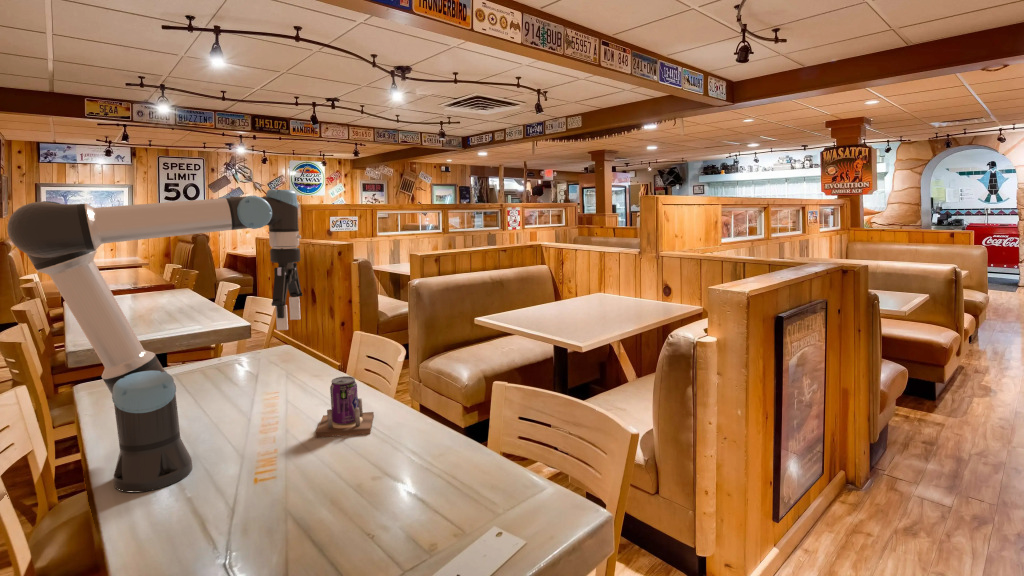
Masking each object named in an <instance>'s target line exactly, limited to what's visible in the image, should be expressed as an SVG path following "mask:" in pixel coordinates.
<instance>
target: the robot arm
mask: <svg viewBox="0 0 1024 576" xmlns="http://www.w3.org/2000/svg"><path fill="white" fill-rule="evenodd" d="M297 197H298V196H297V193H296V191H294V190H293V189H268V190H266V195H265V196H257V195H247V196H232V195H230V196H229V195H228V196H220V197H218V198H211V199H196V200H184V201H183V200H181V201H170V202H169V201H167V202H156V203H143V204H128V205H115V206H113V205H112V206H102V207H101V206H99V207H93V206H92V205H90V204H88V203H72V204H71V203H70V204H68V203H66V204H65V203H60V202H56V201H50V200H46V201H45V200H44V201H34V202H31V203H27V204H24V205H22V206H20V207H19V208H17V209H16V210H15V211H13V212H12V214H11V215H10V217H9V220H7V221H8V223H7V234H8V237H9V239H10V241H11V242H12V244H13V245H14V246H15V247H16V248H17V249H18V250H19V251H21V252H23V253H24V254H26V255H27V257H28V259H29V260H30V261H31V264H32V265H33V267H34V268H35V270H36V272H38V273H42V274H46V275H48V276H49V277H50V279H51V281H52V282H53V283H54V285H55V287H56V288H57V290H58V292H59V294H60V295H61V297H62V298H63V300H64V302H65V303H66V305H67V307H68V309H69V310H70V312H71V313H72V316H73V317H74V318H75V320H76V322H77V323H78V325H79V327H80V329H81V330H82V332H83V333H84V335H85V336H86V338H87V340H88V342H89V343H90V345H91V347H92V348H93V350H94V351H95V353H96V355H97V356H98V358H99V360H100V362H101V363H102V365H103V367H104V369H103V372H102V374H101V378H102V380H103V382H104V383H105V386H106V387H107V388H108V390H109V393H111V398H112V399H111V401H112V403H113V405H114V413H115V422H116V429H117V436H118V445H119V454H118V458H117V461H116V465H115V469H114V474H113V483H114V488H115V487H116V488H118V489H120V490H123V491H144V492H148V491H147V490H150V491H153V490H152V489H155V490H158V489H157V488H159V489H162V488H165V487H168V486H171V485H173V484H175V483H177V482H180V481H181V480H183V479H184V478H186V477H187V476H188V475H189V474H190V473H191V472H192V470H193V460H192V457H191V455H190V453H189V451H188V449H187V447H186V445H185V444H184V442H183V440H182V437H181V431H180V430H181V429H180V421H179V411H178V401H177V395H176V392H177V385H176V383H175V380H174V378H173V376H172V375H171V374H169V373H168V372H167V371H166V370H165V369H164V367H163V365H162V364H161V362H160V361H159V359H158V357H157V355H156V353H155V352H153V351H149V350H146V349H144V347H143V344H142V343H141V342H140V340H139V338H138V336H137V335H136V333H135V331H134V329H133V327H132V325H131V324H130V322H129V320H128V319H127V317H126V316H125V313H124V312H123V310H122V308H121V306H120V305H119V303H118V301H117V299H116V297H115V296H114V294H113V292H112V290H111V289H110V287H109V285H108V284H107V281H106V280H105V278H104V275H102V273H101V272H100V271H101V270H99V267H98V266H97V264H96V263H95V261H94V259H95V257H96V255H97V254H96V253H97V250H98V249H99V247H101V245H104V244H113V243H120V242H121V243H122V242H123V243H124V242H129V241H130V242H131V241H139V240H148V239H149V240H150V239H159V238H168V237H177V236H186V235H187V236H188V235H197V234H206V233H207V234H208V233H215V232H223V231H224V232H225V231H236V230H245V229H246V230H247V229H251V230H252V229H253V230H256V229H262V228H263V227H266V226H267V227H268V237H269V239H268V240H269V241H268V242H269V246H270V247H271V248H270V250H269V254H270V262H271V263H273V264H278V267H274V269H273V271H274V277H273V278H274V279H273V290H272V293H273V294H272V302H271V306H272V307H274V308H275V320H276V321H275V323H276V331H288V330H289V324H288V323H289V321H288V320H290V321H293V320H301V318H302V317H301V302H300V301H301V300H300V297H303V292H302V289H301V284H300V277H299V272H298V264H297V263H299V262H300V261H301V249H300V248H299V246H300V239H302V236H301V234H300V231H299V229H300V228H299V205H298V198H297ZM288 293H289V297H288V302H289V303H288V305H289V316H288V305H287V304H286V303H287V296H288ZM288 317H289V319H288ZM170 484H171V485H170ZM167 485H168V486H167ZM164 486H165V487H164ZM161 487H162V488H161ZM116 488H115V489H116Z"/></svg>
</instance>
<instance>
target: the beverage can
mask: <svg viewBox="0 0 1024 576" xmlns="http://www.w3.org/2000/svg"><path fill="white" fill-rule="evenodd" d="M329 388H330V389H329V392H330V407H331V410H332V421H333V422H334V423H337V424H340V425H347V424H351V423H353V422H354V421H355V408H357V407H358V399H359V398H358V397H359V395H358V384H357V382H356V379H355V377H354V376H349V375H347V376H338V377H335V378H333V379H331V385H330V387H329Z"/></svg>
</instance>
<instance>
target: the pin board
mask: <svg viewBox="0 0 1024 576" xmlns="http://www.w3.org/2000/svg"><path fill="white" fill-rule="evenodd" d="M374 418H375V415H374V411H368V412H363V398H361V397H360V398H358V407H357V408H355V421H354V422H353V423H351V424H347V425H340V424H337V423H334V422H333V421H332V409H327V410H326V415H324V414H323V415H322V418H321V420H320V422H319V423H318V426H317V429H316V431H315V438H317V439H319V438H329V437H345V436H356V435H357V436H358V435H369V434H371V433H372V432H371V431H372V427H373V421H374Z"/></svg>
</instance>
